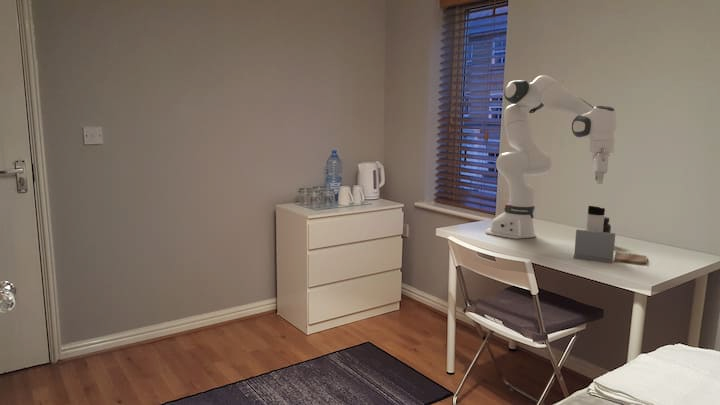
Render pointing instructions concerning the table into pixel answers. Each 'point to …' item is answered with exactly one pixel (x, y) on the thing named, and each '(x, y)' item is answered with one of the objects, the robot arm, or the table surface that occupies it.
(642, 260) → the walnut pad
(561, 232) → the table surface
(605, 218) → the supplement bottle
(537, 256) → the table surface
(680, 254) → the table surface
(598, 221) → the travel mug
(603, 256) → the slate screen
